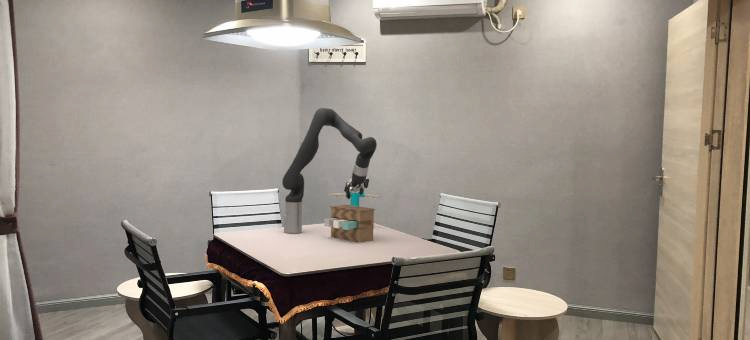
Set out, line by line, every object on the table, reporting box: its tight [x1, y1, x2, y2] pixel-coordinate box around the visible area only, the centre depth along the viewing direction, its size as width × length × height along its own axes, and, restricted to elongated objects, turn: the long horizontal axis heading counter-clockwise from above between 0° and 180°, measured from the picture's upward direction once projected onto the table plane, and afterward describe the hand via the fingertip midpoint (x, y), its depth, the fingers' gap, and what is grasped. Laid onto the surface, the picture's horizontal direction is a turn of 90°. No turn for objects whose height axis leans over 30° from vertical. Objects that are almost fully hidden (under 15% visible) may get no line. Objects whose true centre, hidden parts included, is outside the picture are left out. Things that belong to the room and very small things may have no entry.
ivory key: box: [333, 219, 348, 228], centre depth 346 cm, size 4×9×4 cm, turn 136°
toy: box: [328, 178, 382, 207], centre depth 385 cm, size 30×9×30 cm, turn 84°
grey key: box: [323, 217, 339, 228], centre depth 351 cm, size 4×9×4 cm, turn 136°
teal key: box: [343, 221, 358, 230], centre depth 341 cm, size 4×9×4 cm, turn 136°
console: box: [329, 204, 376, 244], centre depth 351 cm, size 23×11×17 cm, turn 46°
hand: (354, 196), depth 351 cm, fingers open, 8 cm apart
